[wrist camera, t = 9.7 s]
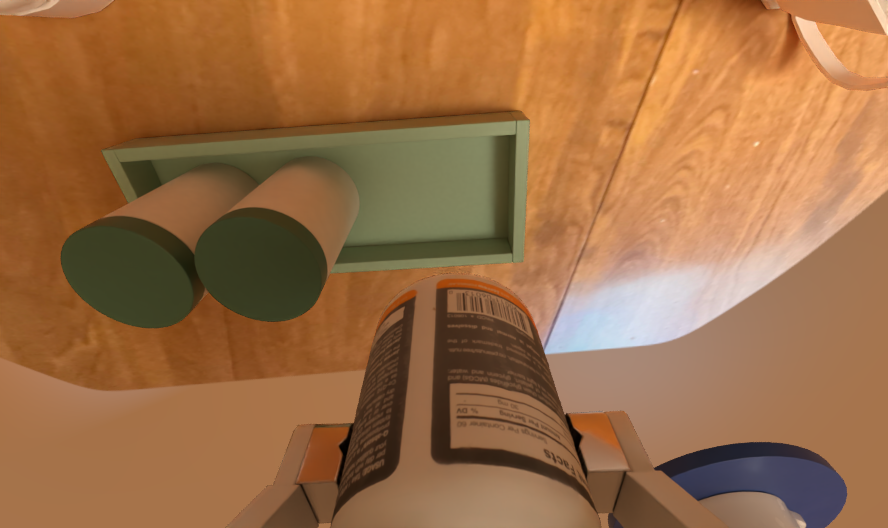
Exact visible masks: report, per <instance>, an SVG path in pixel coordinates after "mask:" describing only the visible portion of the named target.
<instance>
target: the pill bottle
mask: <svg viewBox="0 0 888 528" xmlns="http://www.w3.org/2000/svg"><path fill="white" fill-rule="evenodd" d="M330 528H601V522H600V518H599V516H598V513H597V511H596V508H595V506H594V503H593V499H592V496H591V493H590V490H589V487H588V484H587V481H586V478H585V475H584V472H583V470H582V466H581V463H580V460H579V458H578V455H577V452H576V449H575V445H574V442H573V438H572V435H571V433H570V430H569V427H568V424H567V421H566V417H565V414H564V412H563V409H562V406H561V402H560V400H559V397H558V394H557V391H556V387H555V384H554V381H553V378H552V375H551V372H550V369H549V364H548V362H547V359H546V356H545V353H544V350H543V347H542V344H541V341H540V338H539V335H538V331H537V329H536V326H535V323H534V321H533V318H532V316H531V314H530V312H529V310H528V309H527V307H526V306H525V304H524V303H523V302H522V300H521V299H520V298H519V297H518V296H517V295H516V294H515V293H513V292H512V291H511V290H510V289H508V288H506V287H505V286H503V285H501V284H499V283H497V282H495V281H493V280H491V279H488V278H485V277H481V276H477V275H471V274H454V273H448V274H442V275H437V276H432V277H428V278H425V279H422V280H420V281H417V282H415V283H413V284H412V285H410V286H409V287H407V288H406V289H404V290H402V291H401V292H399V293H398V294H397V295H396V296H395V297H394V298H393V299H392V300H391V301H390V302H389V304H388V305H387V307H386V308H385V309H384V311H383V313H382V315H381V317H380V319H379V322H378V326H377V329H376V333H375V336H374V340H373V343H372V347H371V352H370V356H369V361H368V365H367V368H366V372H365V377H364V381H363V385H362V389H361V393H360V398H359V403H358V407H357V411H356V417H355V421H354V425H353V432H352V436H351V439H350V444H349V448H348V452H347V456H346V460H345V465H344V469H343V473H342V478H341V482H340V485H339V490H338V495H337V499H336V504H335V508H334V512H333V517H332V521H331V527H330Z"/></svg>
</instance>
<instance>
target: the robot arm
mask: <svg viewBox="0 0 888 528" xmlns="http://www.w3.org/2000/svg"><path fill="white" fill-rule="evenodd" d="M565 417H566V421H567V424H568V427H569V430H570V433H571V435H572V438H573V442H574V445H575V449H576V452H577V455H578V458H579V460H580V463H581V466H582V470H583V472H584V475H585V478H586V481H587V484H588V487H589V490H590V493H591V496H592V499H593V503H594V506H595V508H596V511H597V513H613V516H614V517H615V518H616V519H617V520H618V522H619V523H620V524H621V525H622V526H623V527H624V528H805V527H806V523H805V521H804V520H803V518H802V516H801V515H800V514H798V513H796V512H793V511H790V510H789V509H788V508H787V506H786V505H785V503H784V502H783V501H782V500H781V499H780V498H778V497H776V496H774V495H771V494H767V493H762V492H733V493H726V494H720V495H716V496H712V497H708V498H705V499H702V500H699V501H697V500H696V499H695V498H694V497H692V496H691V495H690V494H689V493H687V492H686V491H685V490H684V489H683V488H681V487H680V486H679V485H678V484H677V483H675V482H674V481H673V480H672V479H671V478H669V477H668V476H667V475H666V474H665V473H663V472H662V471H655V470H654V468H653V466H652V464H651V462H650V460H649V457H648V455H647V454H646V452H645V449H644V448H643V445H642V443H641V441H640V439H639V437H638V435H637V433H636V431H635V429H634V427H633V425H632V423H631V421H630V419H629V417H628V415H627V414H626V413H625V412H624V411H610V412H602V411H598V412H581V413H566V415H565ZM353 425H354V423H348V424H309V425H308V424H307V425H298V426H297V427H296V429H295V430H294V431H293V434H292V437H291V439H290V442H289V445H288V447H287V450H286V453H285V455H284V458H283V460H282V463H281V466H280V468H279V471H278V474H277V476H276V479H275V481H274V484H273V485H270V486H267V487H266V488H265V489H264V490H263V491H262V492H261V493H260V494H259V495H258V496H257V497H256V498H255V499H254V500H253V501H252V502H251V503H250V504H249V505H248V506H247V507H246V508H245V509H243V511H241V513H239V514H238V516H237V517H235V519H233V521H232V522H231V523H230V524H228V526H226V528H318V526H319V525H318V523H331V521H332V517H333V512H334V508H335V504H336V499H337V495H338V490H339V485H340V482H341V478H342V473H343V469H344V465H345V460H346V456H347V452H348V448H349V444H350V439H351V436H352V432H353Z"/></svg>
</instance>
